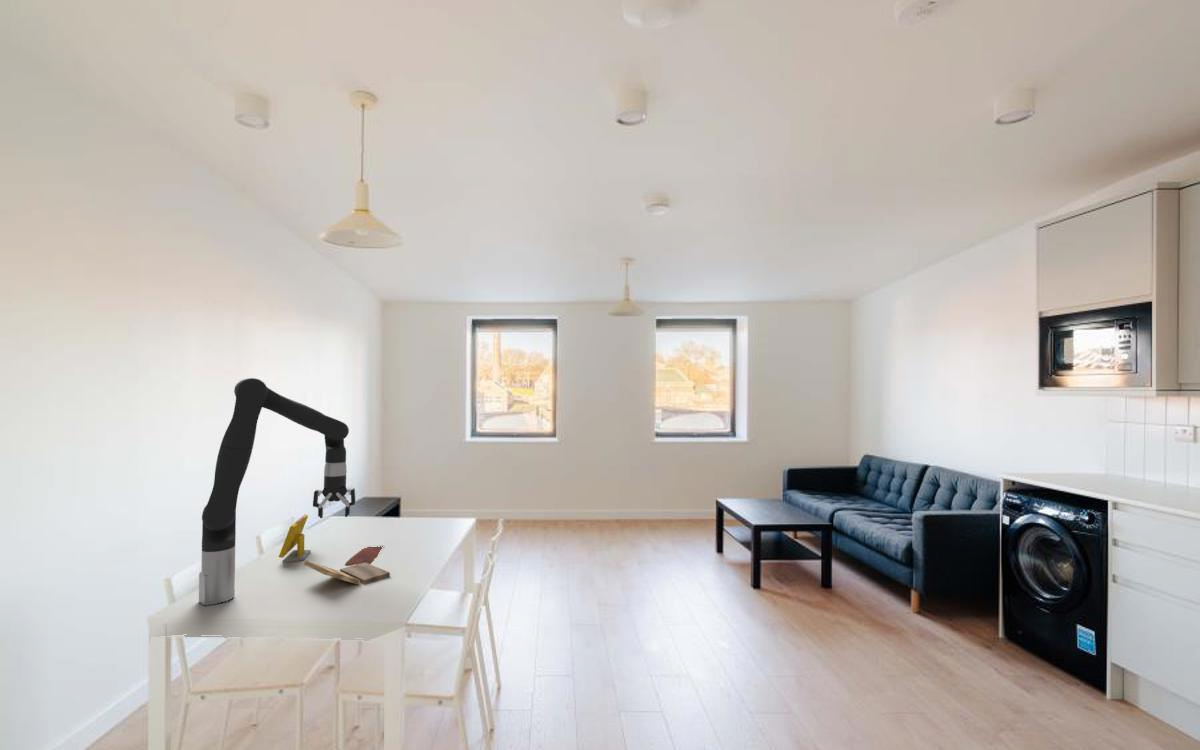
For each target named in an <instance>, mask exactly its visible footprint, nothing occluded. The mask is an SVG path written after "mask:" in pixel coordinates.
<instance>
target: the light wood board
mask: <svg viewBox="0 0 1200 750" xmlns="http://www.w3.org/2000/svg"><path fill="white" fill-rule="evenodd" d="M303 565H304V566H306V567H308V568H310V569H312V570H314V571H316V572H318V573H320V574H322V575H325V576H328V577H331V578H335V579H338V580H342V581H344V582H349V583H352V584H353V585H360V584H361V583H360V580H358V579H356V578H354V577H352V576H350V575H347V574H345V573H343V572H341V571H340V570H338V569H335V568H332V567H328V566H325V565H322V564H319V563H316V562H313V561H309V560H305V562H304V563H303Z"/></svg>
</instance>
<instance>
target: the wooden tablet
mask: <svg viewBox="0 0 1200 750" xmlns="http://www.w3.org/2000/svg"><path fill="white" fill-rule="evenodd" d="M376 546H377V547H371V546H366V547H367V548H365V547H364V549H363V548H361V549H360V550H361V551H360V550H359V551H358V552H356V553H355V554H354V555H352V557H350V558H349V559H348V560H347V561H346V562H345V564H344V565H345V566H346V567H350V566H354V565H357V564H361V563H365V562H366V563H368V564H370V565H372V563H373V562H374V561H375V560H376V559H377V558H378V556H379V555H380V553H381V552H380V550H381V549H382V547H383V546H384V545H376ZM378 546H380V547H378ZM381 546H382V547H381ZM381 551H382V550H381ZM379 552H380V553H379ZM378 554H379V555H378ZM375 558H376V559H375ZM374 559H375V560H374Z"/></svg>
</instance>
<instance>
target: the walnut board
mask: <svg viewBox="0 0 1200 750" xmlns="http://www.w3.org/2000/svg"><path fill="white" fill-rule="evenodd" d="M339 571H341V572H343V573H345V574H347V575H350V576H352V577H354V578H356V579H358V580H360V583H359V584H362V585H366V584H370V583H374V582H376V581H380V580H383V579H387V578H389V577H390V576H391V575H390V571H387V570H384V569H382V568H379V567H378V566H375V565H373V564H368V563H366V562H365V563H361V564H357V565H356V564H355V565H351V566H346V567H343V568H340V569H339Z"/></svg>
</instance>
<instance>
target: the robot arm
mask: <svg viewBox="0 0 1200 750" xmlns="http://www.w3.org/2000/svg"><path fill="white" fill-rule="evenodd" d="M233 391H234V396H235V401H234V402H235V403H234V408H233V413H232V417H231V420H230V421H229V424H228V426H227V428H226V430H225V433H224V435H223V437H222V440H221V442H220V447H219V449H218V453H217V458H216V464H215V469H214V470H215V471H214V480H213V485H212V487H213V488H212V490H211V492H210V496H209V498H208V501H207V504H206V505H205V506H204V507H203V510H202V514H201V520H202V525H201V527H202V528H201V529H202V530H201V531H202V532H201V533H202V535H201V564H200V565H201V566H200V567H201V570H200V572H199V574H198V602H199V603H200V602H201V603H200V604H201V605H203V606H204V605H206V606H210V605H211V606H212V605H217V604H218V603H219V604H222V603H221V602H223V603H226V602H229V601H231V600H233V599H234V598H235V595H236V594H235V593H236V592H235V591H236V589H235V588H236V587H235V585H236V583H235V581H236V534H237V533H236V524H237V522H236V520H237V519H236V518H237V517H236V516H237V503H238V495H239V492H240V488H241V485H242V482H243V480H244V478H245V475H246V472H247V469H248V467H249V463H250V460H251V457H252V452H253V449H254V445H255V444H254V443H255V437H256V434H257V433H256V432H257V426H258V420H259V417H260V414H261V411H262V408H263V409H265V410H268V411H269V410H270V411H271V412H274V413H276V414H278V415H280V416H282V417H284V418H286V419H288V420H290V421H292V422H293V423H296V424H298V425H300V426H302V427H304V428H305V429H309V430H311V431H314V432H318V433H320V434H321V435H323V436H324V445H325V460H324V461H325V462H324V463H325V465H324V469H323V489H322V490H319V489H315V490H314V491H313V500H312V507H313V508H317V509H318V510H317V517H318V518H319V519H323V517H324V507H323V506H324V505H325V504H326V503H327V502H334V501H335V502H340V501H341V502H342V503H343V504H344V505H345V507H344V508H345V509H344V517H345V518H347V517H349V515H350V513H351V506H354V505H356V489H355V487H354V488H353V487H352V488H349V489H348V488H347V472H348V470H347V449H346V447H345V439H346V438H347V437H348V435H349V433H350V431H349V430H350V429H349V426H348V425H347V424H346V423H345V422H343V421H341V420H338V419H337V418H334V417H331V416H329V415H327V414H324V413H323V412H320V411H319V410H317V409H315V408H312V407H310V406H308V405H306V404H303V403H301V402H298V401H295V400H293V399H290V398H288V397H285V396H283V395H281V394H280V393H277V392H276V391H274V390H273V389H270V387H267V384H266V383H265V382H264V381H263V380H261V379H259V378H256V377H246V378H243V379H241V380H239V381H238V382H237V383H236V384H235V386H234V390H233ZM347 493H348V495H350V501H349V500H348V499H347V498H346V495H347ZM321 494H322V495H323V497H324V499H323V500H322V501H321V502H320V503H319V497H320V496H321ZM233 597H234V598H233ZM232 598H233V599H232ZM230 599H231V600H230ZM228 600H229V601H228ZM225 601H226V602H225Z"/></svg>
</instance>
